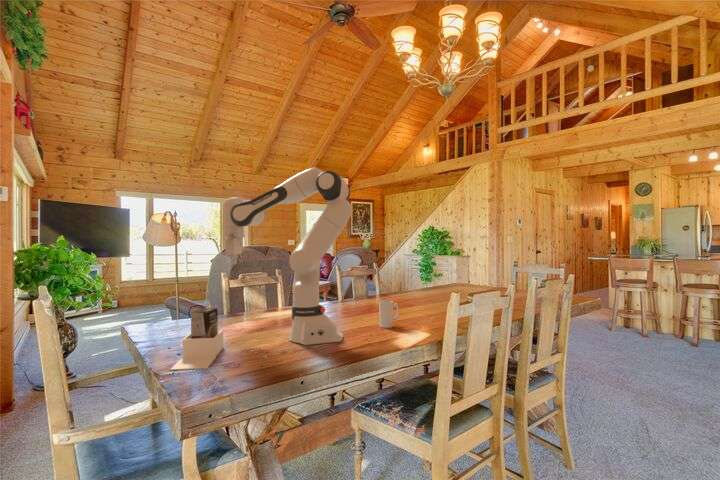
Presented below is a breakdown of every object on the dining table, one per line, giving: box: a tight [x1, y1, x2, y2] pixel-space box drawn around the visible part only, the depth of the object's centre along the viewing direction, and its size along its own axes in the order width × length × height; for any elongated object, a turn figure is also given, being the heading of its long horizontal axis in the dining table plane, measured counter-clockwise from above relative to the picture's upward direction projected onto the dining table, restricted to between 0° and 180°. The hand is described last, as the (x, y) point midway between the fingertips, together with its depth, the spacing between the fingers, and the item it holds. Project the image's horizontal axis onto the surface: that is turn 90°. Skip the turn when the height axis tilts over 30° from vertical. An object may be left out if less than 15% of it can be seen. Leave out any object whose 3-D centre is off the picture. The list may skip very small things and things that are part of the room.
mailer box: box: [169, 329, 224, 371], centre depth 142 cm, size 12×25×7 cm, turn 7°
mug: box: [378, 299, 400, 329], centre depth 187 cm, size 10×7×12 cm, turn 105°
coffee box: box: [190, 307, 219, 339], centre depth 148 cm, size 9×6×16 cm
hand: (234, 264), depth 176 cm, fingers closed
